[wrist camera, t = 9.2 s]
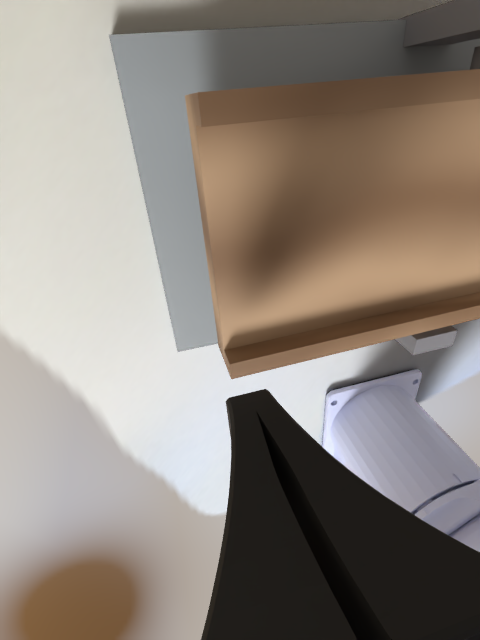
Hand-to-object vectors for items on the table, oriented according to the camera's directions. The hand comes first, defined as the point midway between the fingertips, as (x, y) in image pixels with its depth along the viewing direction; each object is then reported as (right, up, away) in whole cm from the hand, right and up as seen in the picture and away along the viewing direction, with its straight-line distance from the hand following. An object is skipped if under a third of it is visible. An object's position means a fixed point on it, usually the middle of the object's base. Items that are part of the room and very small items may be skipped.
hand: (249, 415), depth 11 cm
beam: (+9, +8, +4) cm, 13 cm away
